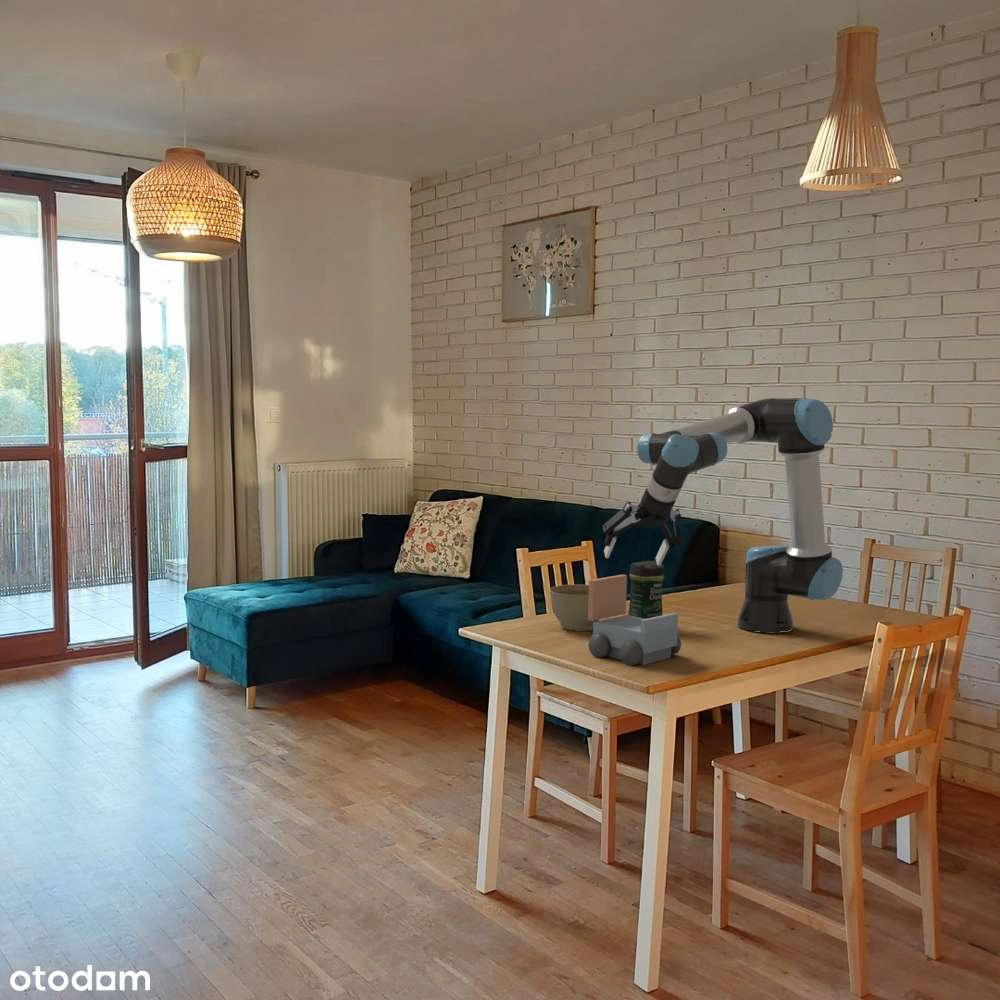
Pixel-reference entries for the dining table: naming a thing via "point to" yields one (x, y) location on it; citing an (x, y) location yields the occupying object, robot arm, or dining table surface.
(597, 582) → the tailgate
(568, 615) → the planter bowl
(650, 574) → the coffee jar
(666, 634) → the flatbed
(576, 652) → the dining table surface
